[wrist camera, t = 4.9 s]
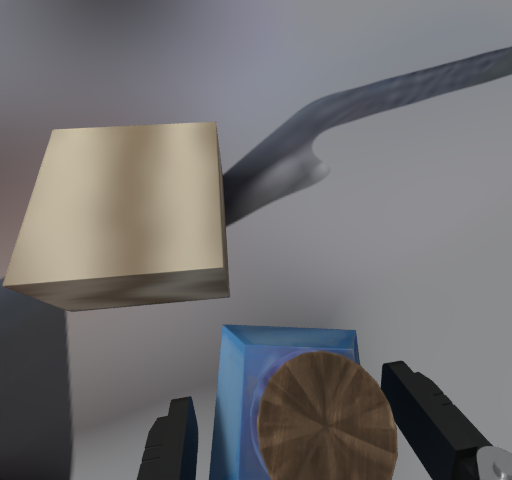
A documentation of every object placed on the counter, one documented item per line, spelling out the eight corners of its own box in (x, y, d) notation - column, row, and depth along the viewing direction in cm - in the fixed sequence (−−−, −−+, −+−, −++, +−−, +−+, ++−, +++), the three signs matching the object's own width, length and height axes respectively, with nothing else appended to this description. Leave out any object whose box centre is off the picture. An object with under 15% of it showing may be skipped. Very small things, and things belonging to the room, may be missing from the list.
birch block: (71, 312, 19) (2, 286, 14) (96, 185, 24) (53, 129, 19) (229, 297, 20) (223, 267, 14) (222, 177, 25) (215, 121, 19)
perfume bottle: (230, 341, 18) (205, 287, 8) (323, 345, 18) (429, 296, 8) (221, 457, 15) (163, 632, 5) (331, 461, 16) (516, 645, 5)
